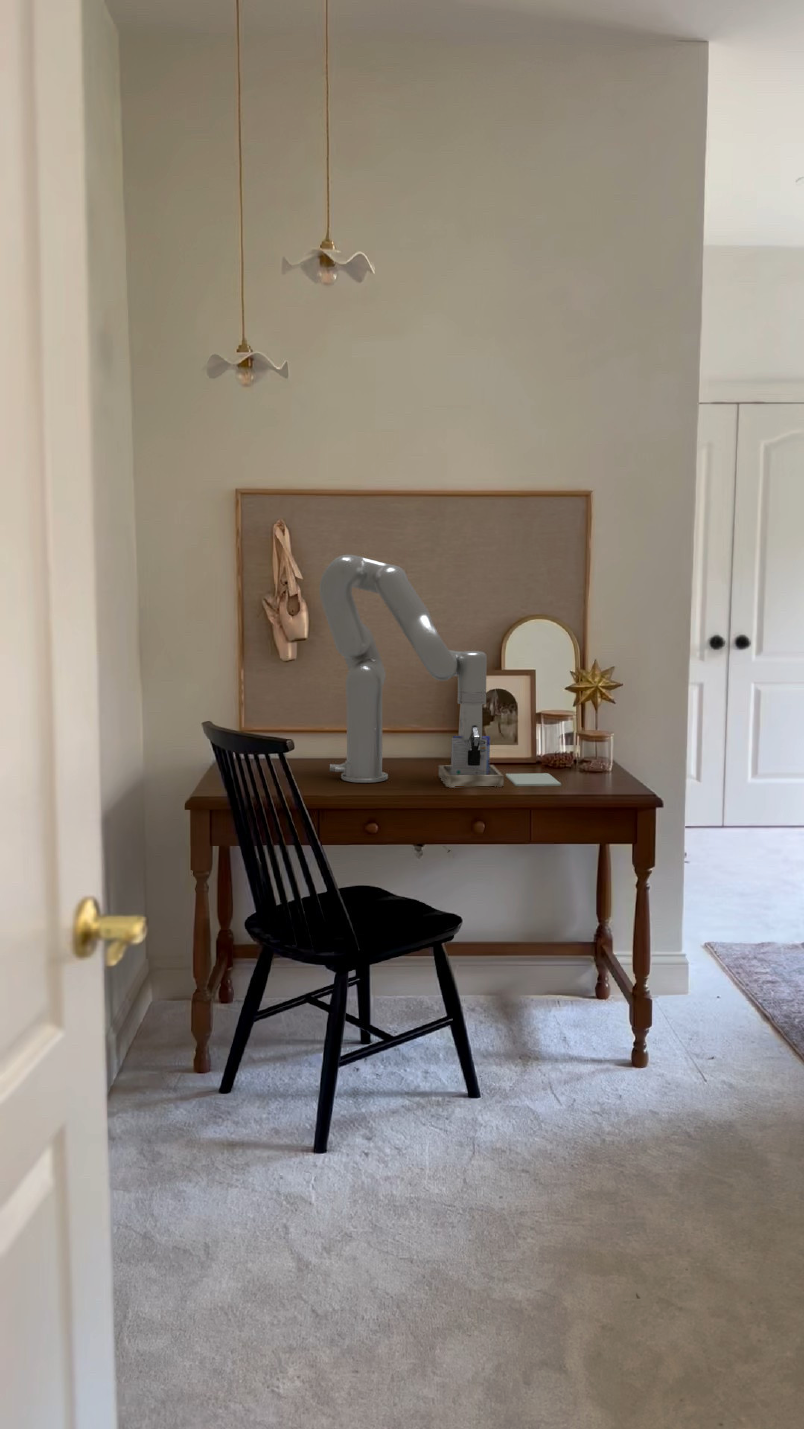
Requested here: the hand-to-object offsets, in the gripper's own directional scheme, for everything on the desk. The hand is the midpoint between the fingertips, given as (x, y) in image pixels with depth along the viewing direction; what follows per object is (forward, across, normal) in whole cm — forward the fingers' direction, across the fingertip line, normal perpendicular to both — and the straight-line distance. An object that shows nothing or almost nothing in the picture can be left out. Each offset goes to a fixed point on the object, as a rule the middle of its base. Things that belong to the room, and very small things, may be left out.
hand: (470, 762), depth 293 cm
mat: (+5, 0, +17) cm, 18 cm away
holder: (+5, 0, 0) cm, 5 cm away
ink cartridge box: (+6, 0, 0) cm, 6 cm away
